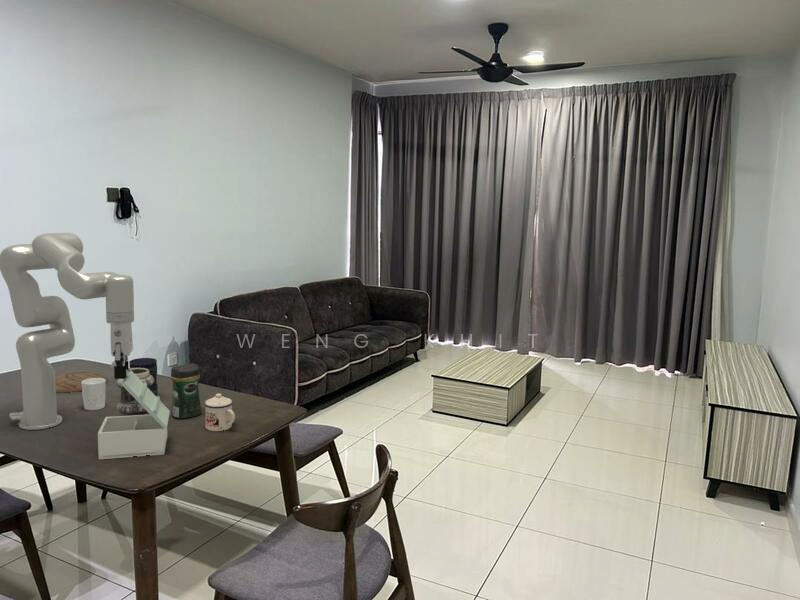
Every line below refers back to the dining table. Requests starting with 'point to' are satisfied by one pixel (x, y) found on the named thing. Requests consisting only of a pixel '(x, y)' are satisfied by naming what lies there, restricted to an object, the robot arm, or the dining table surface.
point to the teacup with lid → (218, 413)
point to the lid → (146, 398)
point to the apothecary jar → (128, 402)
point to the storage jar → (151, 366)
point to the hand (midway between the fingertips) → (121, 375)
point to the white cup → (94, 393)
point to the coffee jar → (185, 391)
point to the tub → (131, 437)
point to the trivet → (74, 381)
